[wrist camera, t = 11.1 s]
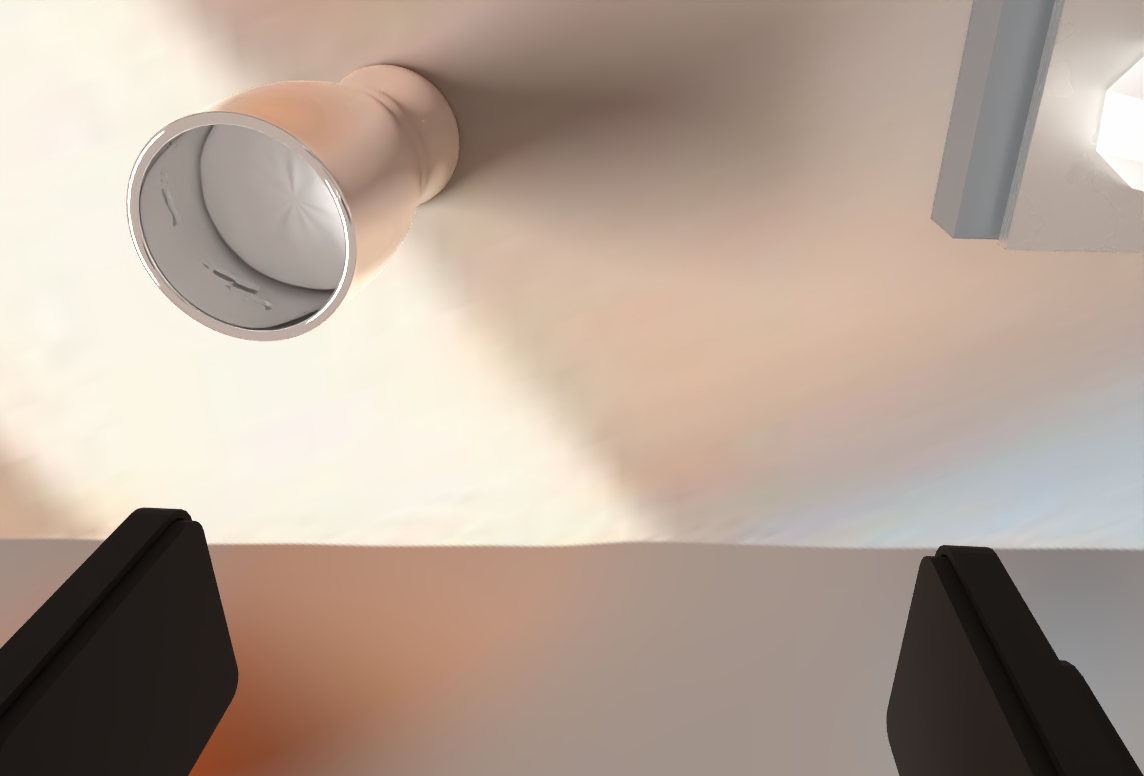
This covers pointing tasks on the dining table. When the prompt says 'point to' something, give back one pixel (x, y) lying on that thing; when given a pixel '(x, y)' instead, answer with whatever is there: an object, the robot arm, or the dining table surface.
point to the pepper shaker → (1125, 127)
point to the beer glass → (288, 196)
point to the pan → (1076, 137)
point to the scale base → (989, 115)
